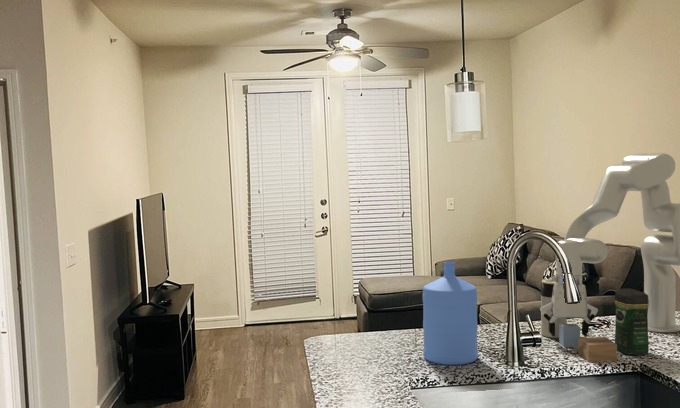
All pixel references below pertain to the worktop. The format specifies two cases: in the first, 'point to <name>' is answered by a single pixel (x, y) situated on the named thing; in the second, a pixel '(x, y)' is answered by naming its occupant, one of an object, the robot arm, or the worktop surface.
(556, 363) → the worktop surface
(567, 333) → the blue block
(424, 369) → the worktop surface
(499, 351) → the worktop surface
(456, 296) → the water jug
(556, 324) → the travel mug
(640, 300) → the coffee jar
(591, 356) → the walnut block
